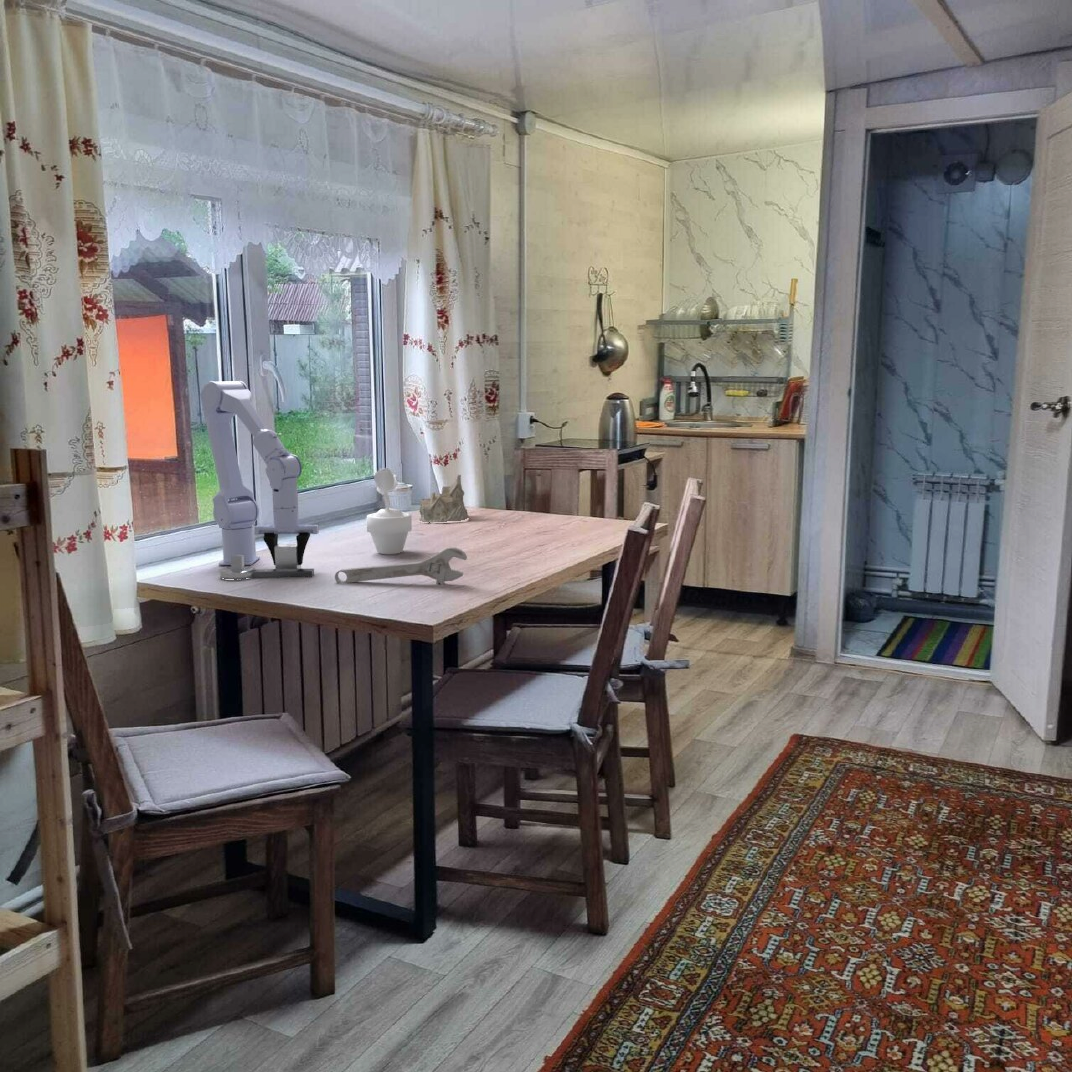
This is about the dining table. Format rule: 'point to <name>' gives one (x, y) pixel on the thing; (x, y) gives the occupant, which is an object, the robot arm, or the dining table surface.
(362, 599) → the dining table surface
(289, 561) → the brushed metal cube
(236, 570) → the ratchet
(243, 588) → the dining table surface
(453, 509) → the ceramic cottage
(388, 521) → the potted plant
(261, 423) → the robot arm
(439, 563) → the wrench
